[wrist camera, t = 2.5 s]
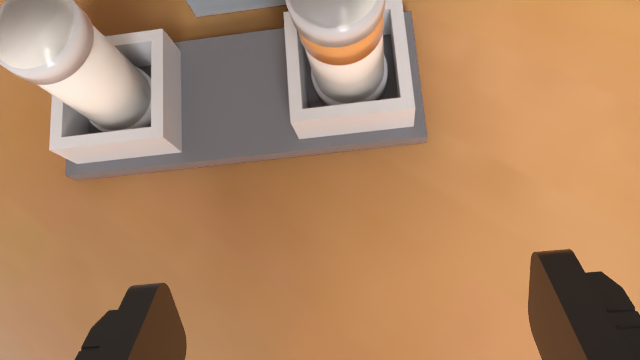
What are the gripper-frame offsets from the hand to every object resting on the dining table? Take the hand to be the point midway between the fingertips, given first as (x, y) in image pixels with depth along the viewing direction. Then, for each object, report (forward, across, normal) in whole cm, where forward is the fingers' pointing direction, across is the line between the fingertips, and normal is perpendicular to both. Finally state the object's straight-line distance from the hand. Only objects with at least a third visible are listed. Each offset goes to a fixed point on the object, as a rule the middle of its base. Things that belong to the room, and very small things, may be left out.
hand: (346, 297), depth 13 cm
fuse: (+18, +12, +2) cm, 22 cm away
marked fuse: (+18, 0, +2) cm, 18 cm away
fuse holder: (+19, +6, +2) cm, 20 cm away
